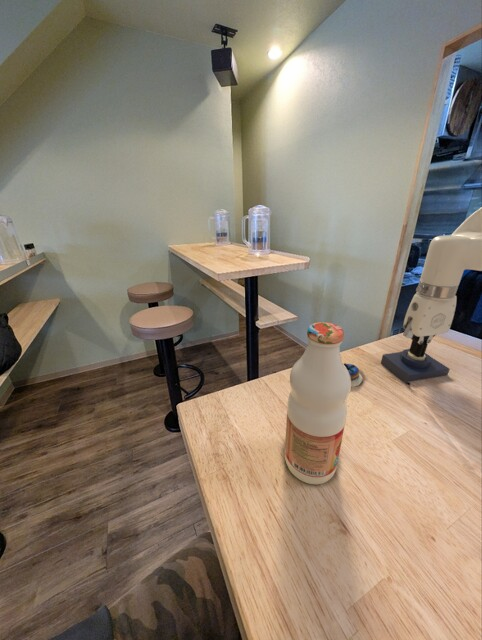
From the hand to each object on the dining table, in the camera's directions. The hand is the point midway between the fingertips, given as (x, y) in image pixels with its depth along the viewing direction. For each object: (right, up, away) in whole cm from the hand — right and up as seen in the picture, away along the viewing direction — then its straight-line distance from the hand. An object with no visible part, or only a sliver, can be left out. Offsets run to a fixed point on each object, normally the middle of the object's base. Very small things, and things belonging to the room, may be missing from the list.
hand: (416, 354), depth 68 cm
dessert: (-19, -7, 0) cm, 20 cm away
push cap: (0, -2, +1) cm, 2 cm away
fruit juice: (-35, -17, -21) cm, 44 cm away
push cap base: (0, -5, +2) cm, 6 cm away
